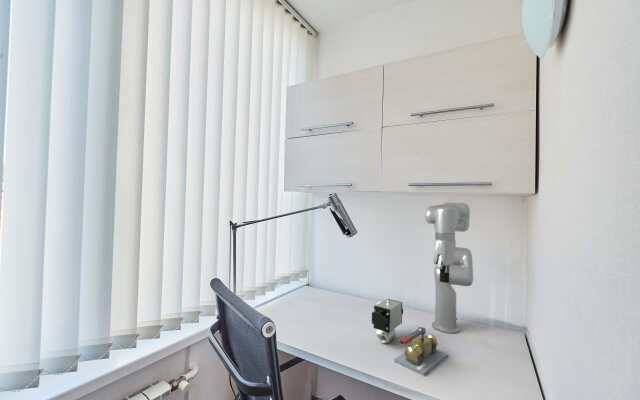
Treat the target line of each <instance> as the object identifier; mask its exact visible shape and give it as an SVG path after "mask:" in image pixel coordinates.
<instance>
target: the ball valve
mask: <svg viewBox="0 0 640 400" xmlns="http://www.w3.org/2000/svg"><path fill="white" fill-rule="evenodd" d="M403 314H404V308H403V302H402V301H399V300H393V299H390V298H386V299H385V300H383V301H378V302H377V303H376V305H374V306H373V311H372V312H371V325H373V329H375V330H376V337H377V338H379V341H380V342H381V343H383V344H388V343H389V342H391V341H392V340H394V338H395V337H396V336H397V332H396V328H397V327H398V326H400V325H402V323H403Z"/></svg>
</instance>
